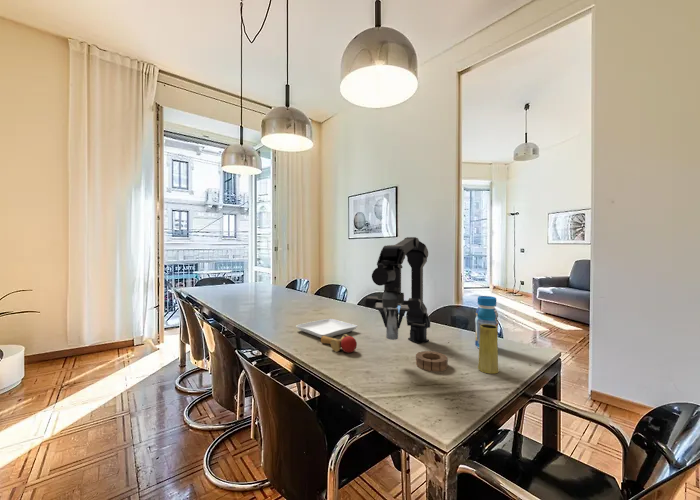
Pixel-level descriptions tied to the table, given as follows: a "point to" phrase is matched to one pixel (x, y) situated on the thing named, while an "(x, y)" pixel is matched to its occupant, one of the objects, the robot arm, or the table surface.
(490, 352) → the vase
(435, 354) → the bead ring
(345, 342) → the kendama
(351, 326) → the salad plate
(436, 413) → the table surface
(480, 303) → the beverage bottle
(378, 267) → the robot arm
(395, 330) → the grey metal cylinder
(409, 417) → the table surface
